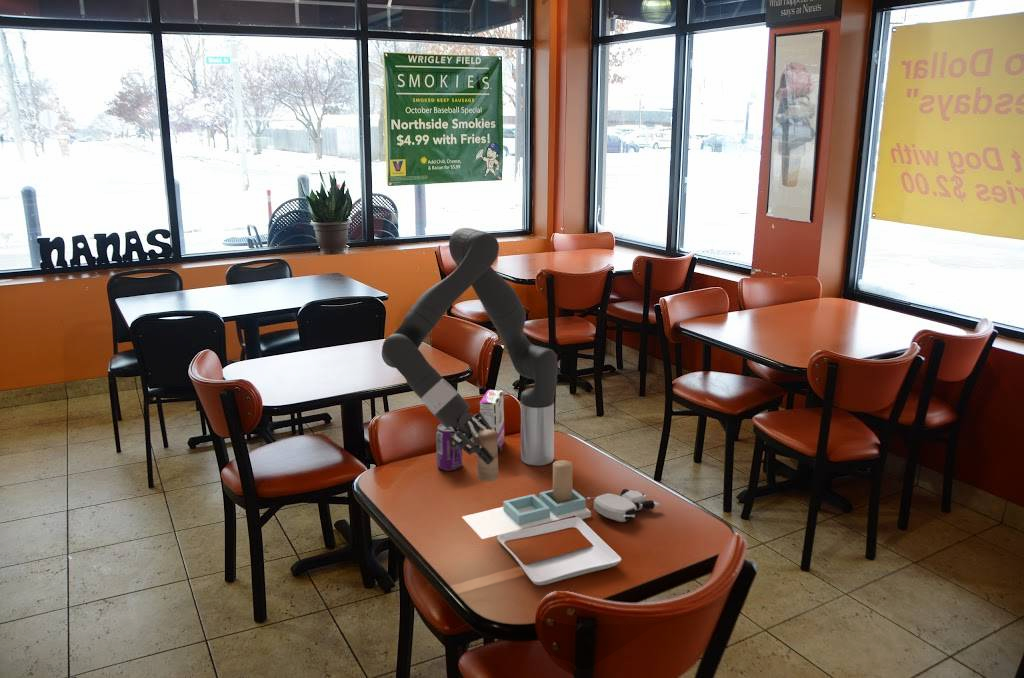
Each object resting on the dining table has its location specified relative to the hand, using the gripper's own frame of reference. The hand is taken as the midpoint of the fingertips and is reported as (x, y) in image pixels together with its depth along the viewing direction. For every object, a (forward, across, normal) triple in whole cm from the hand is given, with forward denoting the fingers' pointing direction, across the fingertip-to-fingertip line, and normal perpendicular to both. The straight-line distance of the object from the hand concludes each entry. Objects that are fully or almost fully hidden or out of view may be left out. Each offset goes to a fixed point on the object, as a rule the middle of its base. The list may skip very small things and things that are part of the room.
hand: (495, 457), depth 188 cm
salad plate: (+26, -8, +2) cm, 27 cm away
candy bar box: (+1, +45, +26) cm, 52 cm away
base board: (+17, +7, +10) cm, 21 cm away
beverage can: (-4, +29, +31) cm, 43 cm away
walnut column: (+2, 0, +5) cm, 6 cm away
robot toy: (+33, +18, -5) cm, 38 cm away
